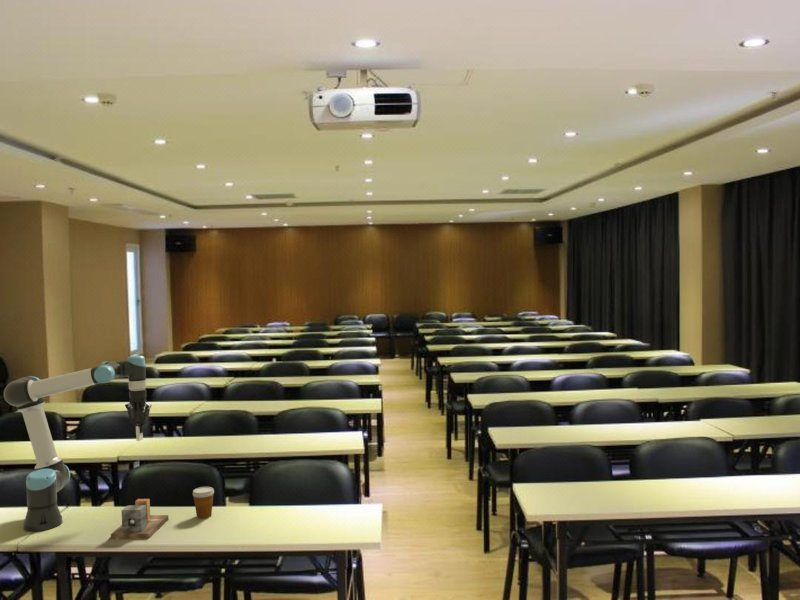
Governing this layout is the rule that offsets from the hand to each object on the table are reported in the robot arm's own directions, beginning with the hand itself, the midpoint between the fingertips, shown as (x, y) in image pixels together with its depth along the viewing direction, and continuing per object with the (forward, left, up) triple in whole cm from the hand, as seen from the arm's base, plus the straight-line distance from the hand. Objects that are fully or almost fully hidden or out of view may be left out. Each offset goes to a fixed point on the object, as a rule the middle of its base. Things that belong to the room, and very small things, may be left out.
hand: (139, 440), depth 324 cm
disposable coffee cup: (+34, -2, -33) cm, 47 cm away
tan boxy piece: (+16, -24, -30) cm, 42 cm away
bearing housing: (+16, -23, -32) cm, 43 cm away
